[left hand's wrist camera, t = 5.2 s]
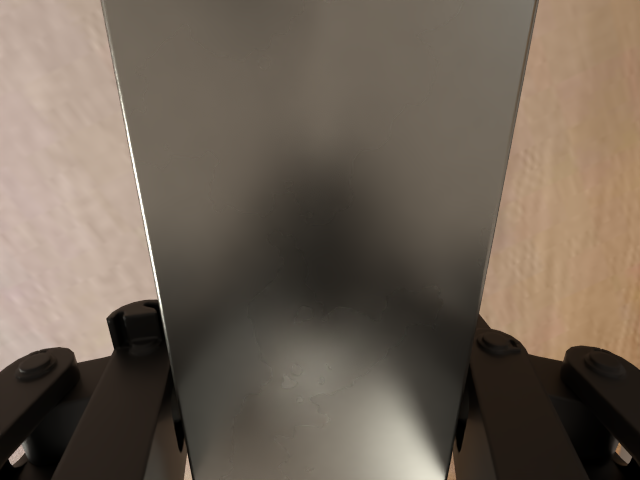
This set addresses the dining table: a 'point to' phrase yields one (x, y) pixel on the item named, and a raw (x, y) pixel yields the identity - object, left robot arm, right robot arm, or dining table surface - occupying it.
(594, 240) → the dining table surface
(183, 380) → the bar
